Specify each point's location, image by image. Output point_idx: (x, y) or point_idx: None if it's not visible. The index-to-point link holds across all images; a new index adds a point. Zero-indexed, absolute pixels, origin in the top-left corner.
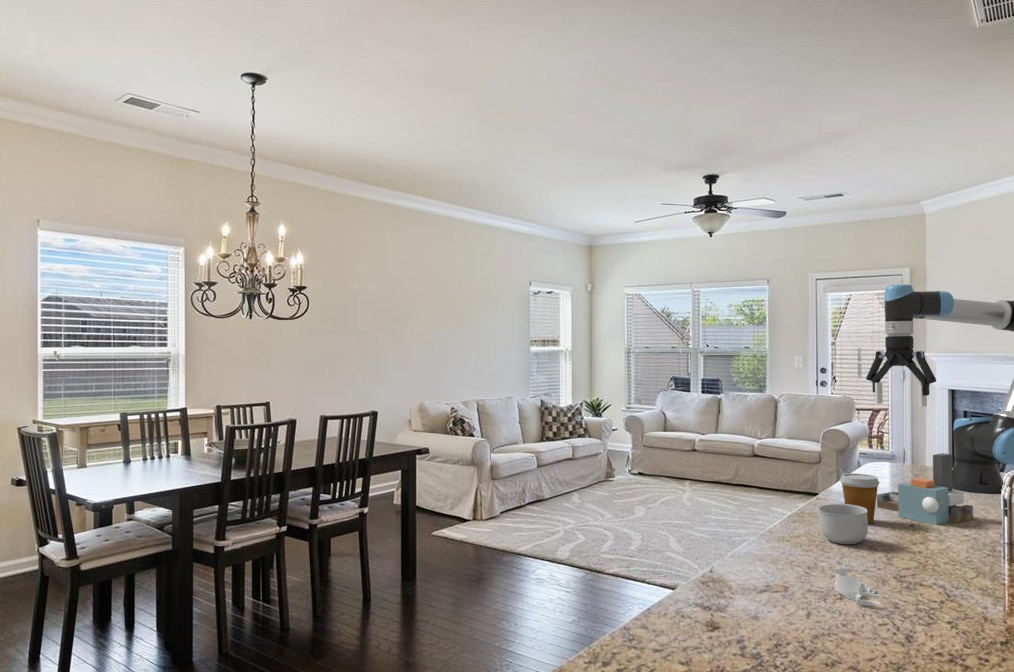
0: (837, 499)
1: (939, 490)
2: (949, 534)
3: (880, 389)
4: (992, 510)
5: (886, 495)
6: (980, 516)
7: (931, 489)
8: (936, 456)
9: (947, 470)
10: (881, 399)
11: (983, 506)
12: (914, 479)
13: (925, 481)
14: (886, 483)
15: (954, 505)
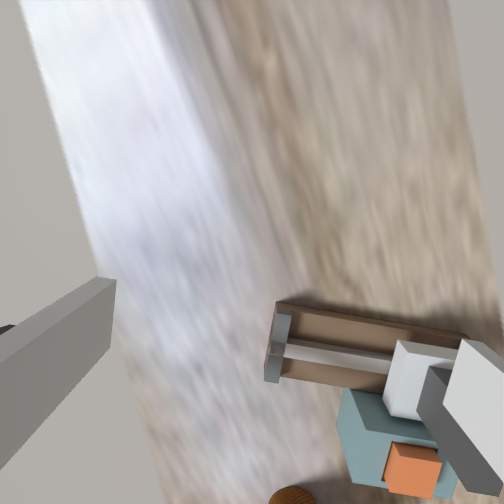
0: (160, 348)
1: (455, 483)
2: (455, 492)
3: (49, 361)
4: (482, 199)
5: (281, 366)
6: (471, 291)
7: (439, 494)
8: (478, 491)
9: None
10: (101, 304)
11: (455, 163)
12: (395, 483)
13: (427, 492)
14: (141, 13)
15: None
